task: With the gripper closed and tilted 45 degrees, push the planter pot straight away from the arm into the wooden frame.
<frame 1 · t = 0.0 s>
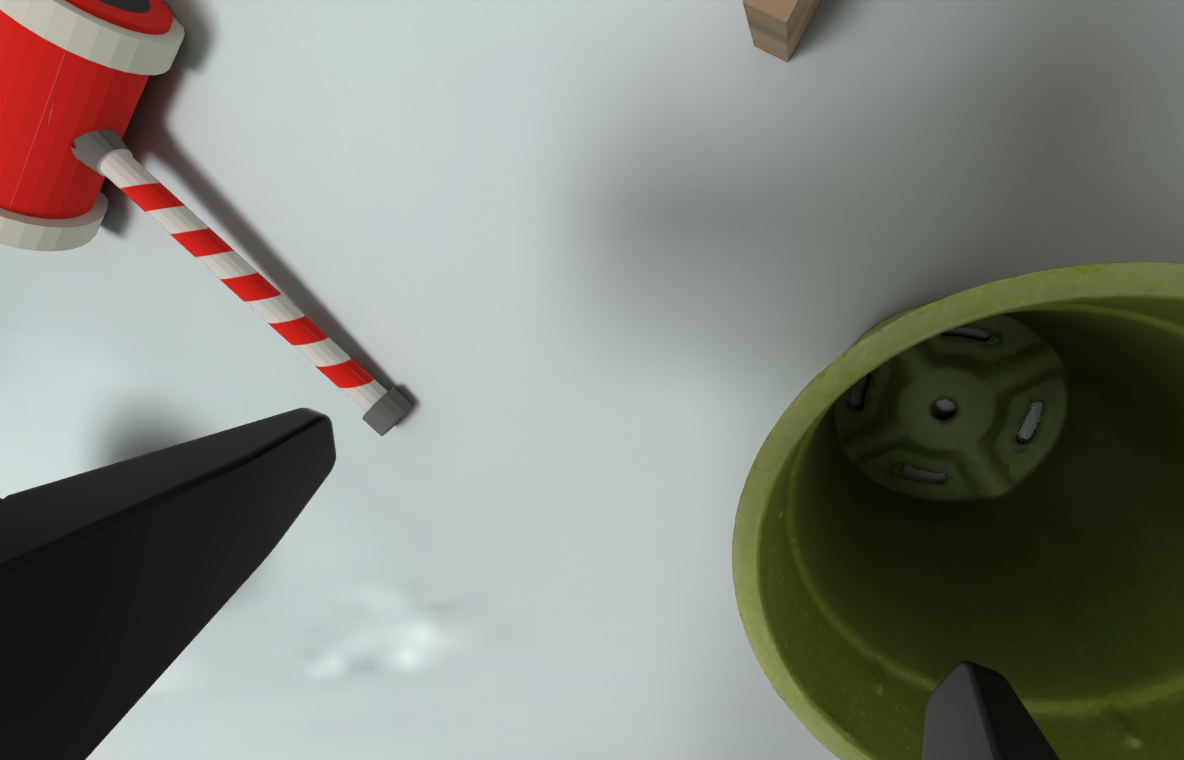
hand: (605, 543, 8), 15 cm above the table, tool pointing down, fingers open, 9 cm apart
toy hammer: (215, 196, 28), on the table
plant pot: (934, 399, 21), on the table
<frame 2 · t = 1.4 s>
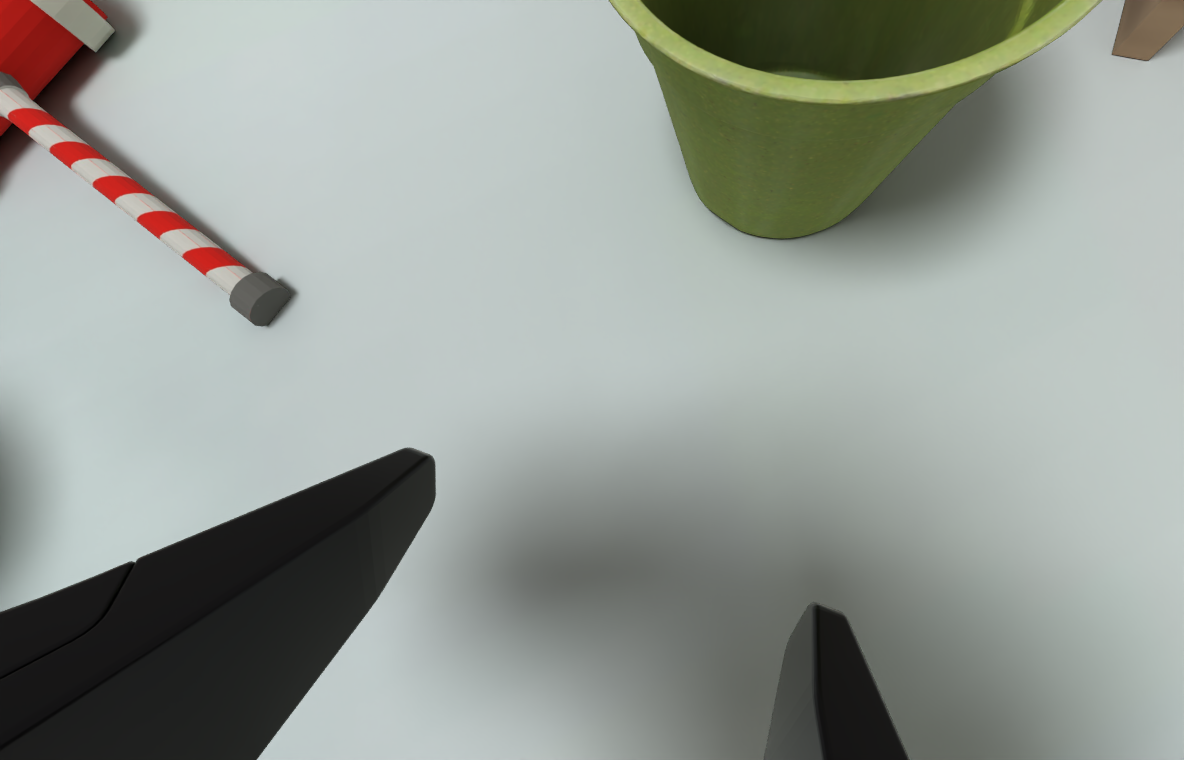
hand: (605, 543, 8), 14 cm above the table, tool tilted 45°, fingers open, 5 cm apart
toy hammer: (106, 159, 29), on the table
plant pot: (775, 158, 24), on the table
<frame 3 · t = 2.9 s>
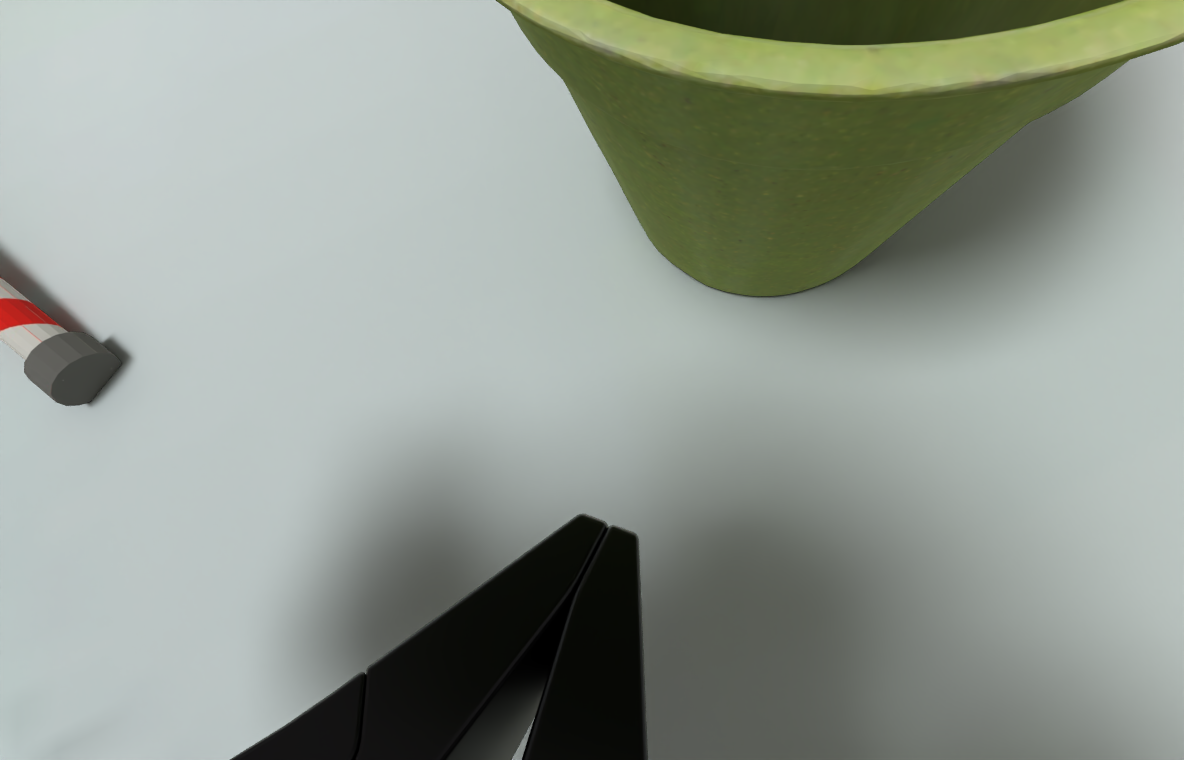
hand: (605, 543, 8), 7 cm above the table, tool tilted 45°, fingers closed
plant pot: (754, 182, 17), on the table
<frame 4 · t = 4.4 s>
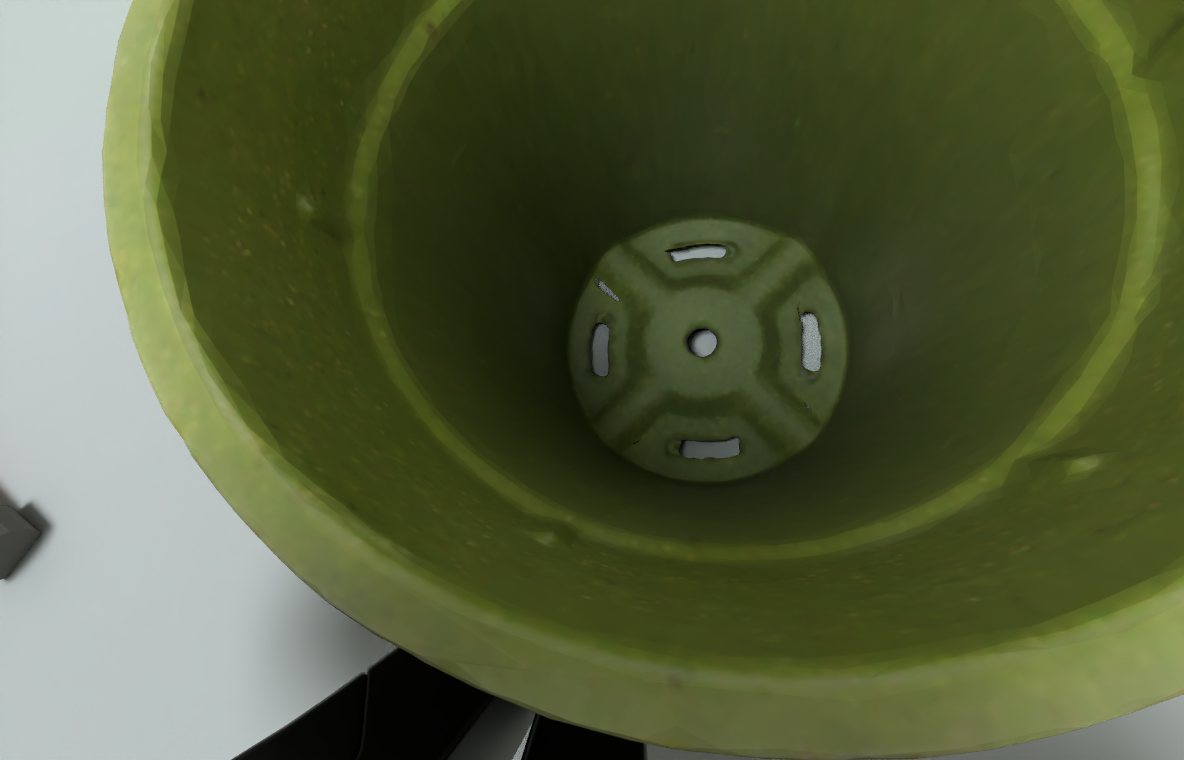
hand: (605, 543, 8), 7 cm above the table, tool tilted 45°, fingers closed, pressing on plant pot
plant pot: (695, 349, 16), on the table, touching gripper
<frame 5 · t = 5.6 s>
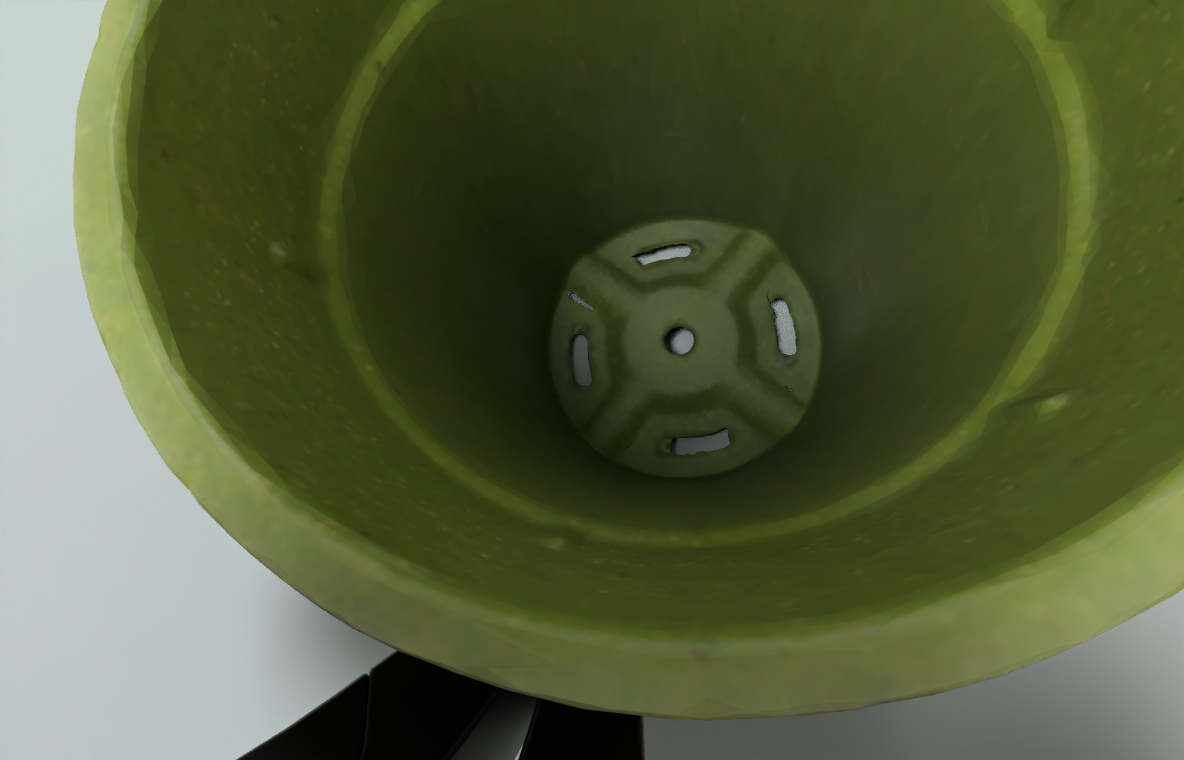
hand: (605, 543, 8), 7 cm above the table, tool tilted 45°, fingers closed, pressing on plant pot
plant pot: (673, 348, 16), on the table, touching gripper
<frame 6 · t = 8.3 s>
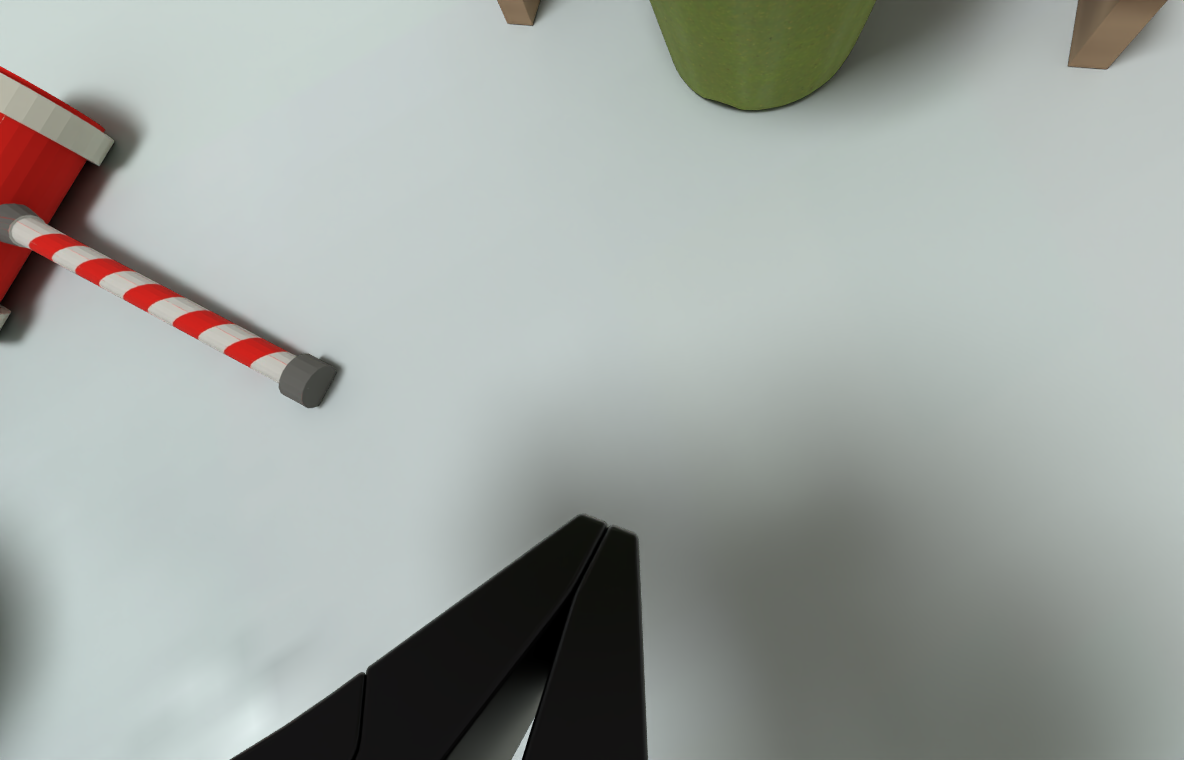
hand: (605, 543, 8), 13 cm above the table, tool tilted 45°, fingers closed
toy hammer: (128, 269, 29), on the table
plant pot: (755, 37, 25), on the table
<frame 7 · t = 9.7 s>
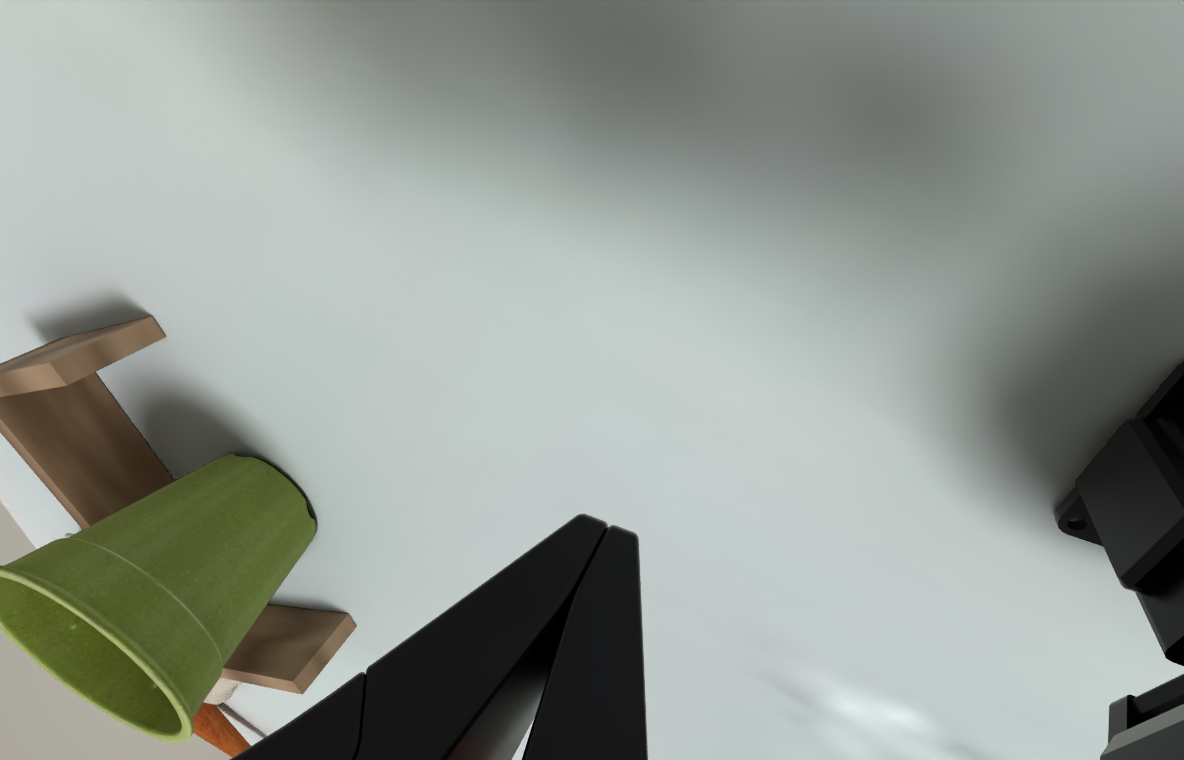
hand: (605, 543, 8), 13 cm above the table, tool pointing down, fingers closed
wooden frame: (217, 492, 38), on the table
washcloth: (175, 602, 52), on the table
kendama: (275, 735, 59), on the table
plant pot: (272, 498, 37), on the table
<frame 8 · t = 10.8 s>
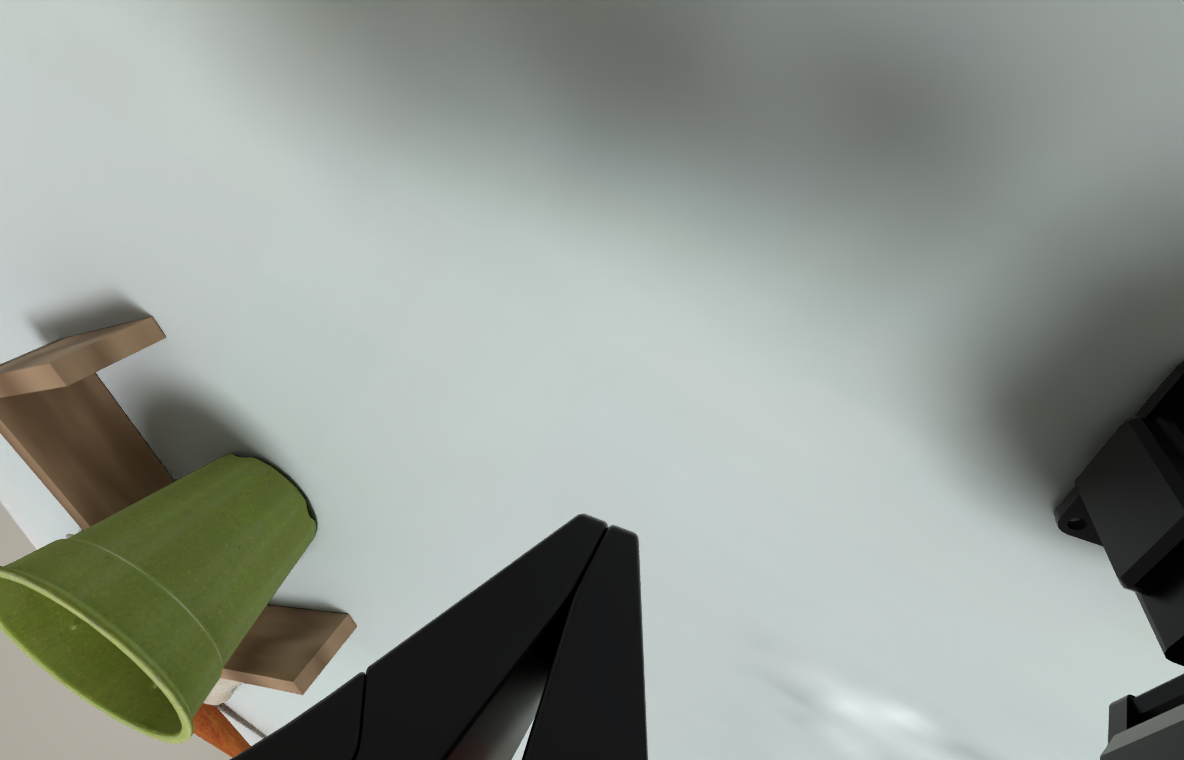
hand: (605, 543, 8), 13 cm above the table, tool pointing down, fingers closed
wooden frame: (217, 493, 38), on the table
washcloth: (175, 603, 52), on the table
kendama: (275, 735, 59), on the table
plant pot: (272, 498, 37), on the table
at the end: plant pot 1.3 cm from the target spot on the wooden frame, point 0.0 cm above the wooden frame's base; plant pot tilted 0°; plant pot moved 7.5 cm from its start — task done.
